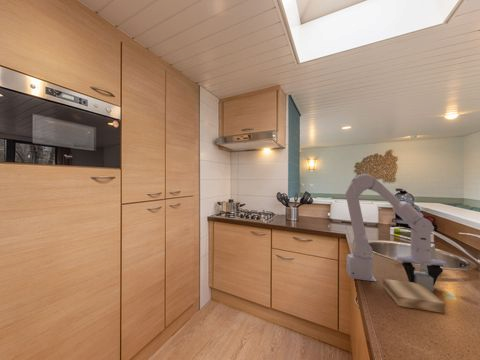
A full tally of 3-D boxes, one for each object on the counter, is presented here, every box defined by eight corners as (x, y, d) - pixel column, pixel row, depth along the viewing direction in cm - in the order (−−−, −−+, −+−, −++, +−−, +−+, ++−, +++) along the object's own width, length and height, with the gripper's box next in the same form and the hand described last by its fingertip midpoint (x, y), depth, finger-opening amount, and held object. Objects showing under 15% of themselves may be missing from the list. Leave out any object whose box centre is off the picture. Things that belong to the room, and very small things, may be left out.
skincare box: (433, 274, 83) (432, 247, 83) (419, 270, 87) (418, 244, 87) (436, 271, 86) (436, 244, 87) (423, 267, 90) (423, 241, 90)
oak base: (398, 305, 63) (398, 296, 63) (382, 286, 74) (382, 278, 74) (444, 313, 59) (444, 303, 59) (421, 291, 70) (420, 283, 70)
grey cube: (417, 289, 72) (416, 276, 72) (409, 282, 77) (409, 270, 77) (433, 291, 71) (433, 278, 71) (424, 284, 75) (424, 272, 75)
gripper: (403, 249, 72) (403, 285, 72) (452, 253, 68) (453, 291, 68) (394, 243, 79) (394, 276, 79) (438, 247, 75) (439, 281, 74)
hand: (421, 283), depth 74 cm, fingers open, 6 cm apart
